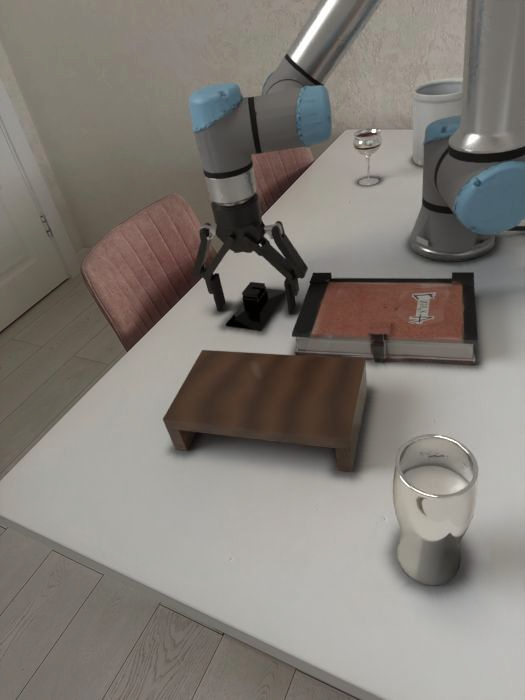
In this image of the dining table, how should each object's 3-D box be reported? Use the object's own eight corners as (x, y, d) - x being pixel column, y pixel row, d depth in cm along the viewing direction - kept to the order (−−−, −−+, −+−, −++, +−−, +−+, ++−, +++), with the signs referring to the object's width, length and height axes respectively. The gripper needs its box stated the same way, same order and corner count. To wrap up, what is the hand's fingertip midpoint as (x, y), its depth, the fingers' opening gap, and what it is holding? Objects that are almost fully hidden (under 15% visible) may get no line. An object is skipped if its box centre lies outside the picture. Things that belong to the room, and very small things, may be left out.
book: (294, 358, 78) (290, 333, 75) (315, 296, 91) (313, 272, 88) (474, 368, 70) (478, 340, 67) (470, 298, 83) (473, 272, 79)
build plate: (261, 332, 85) (256, 310, 82) (224, 327, 88) (218, 305, 85) (288, 292, 93) (284, 270, 90) (253, 288, 96) (249, 267, 93)
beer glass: (384, 531, 54) (383, 439, 44) (449, 520, 53) (461, 425, 44) (404, 595, 48) (407, 507, 39) (476, 584, 48) (496, 492, 38)
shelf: (367, 391, 70) (365, 359, 66) (352, 472, 60) (349, 439, 56) (211, 379, 78) (202, 349, 74) (175, 449, 68) (162, 419, 64)
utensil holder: (478, 163, 125) (486, 86, 114) (417, 172, 126) (419, 98, 116) (460, 145, 136) (466, 74, 125) (405, 154, 138) (406, 84, 127)
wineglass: (386, 177, 128) (386, 128, 120) (376, 187, 124) (374, 137, 116) (361, 175, 131) (359, 128, 124) (350, 185, 127) (348, 137, 120)
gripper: (317, 183, 76) (327, 298, 89) (172, 190, 84) (201, 295, 97) (307, 204, 71) (319, 323, 84) (152, 209, 79) (186, 317, 92)
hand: (256, 308), depth 91 cm, fingers open, 13 cm apart
